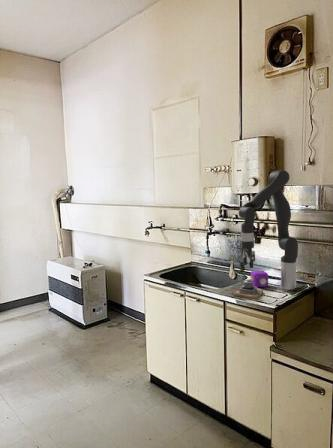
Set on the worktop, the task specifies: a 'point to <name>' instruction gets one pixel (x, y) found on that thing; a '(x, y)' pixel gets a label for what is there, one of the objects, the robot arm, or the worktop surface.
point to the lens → (248, 284)
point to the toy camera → (259, 278)
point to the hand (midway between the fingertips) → (248, 266)
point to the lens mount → (248, 293)
